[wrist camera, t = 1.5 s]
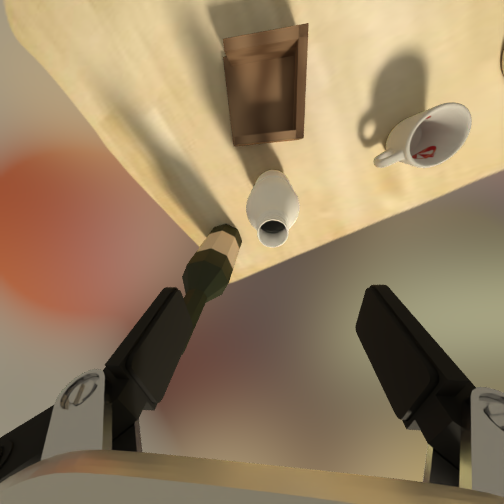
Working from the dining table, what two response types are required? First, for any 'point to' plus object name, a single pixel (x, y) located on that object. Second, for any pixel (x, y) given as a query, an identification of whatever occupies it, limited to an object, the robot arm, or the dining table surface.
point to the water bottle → (272, 207)
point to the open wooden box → (267, 84)
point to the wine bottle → (210, 269)
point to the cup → (427, 137)
